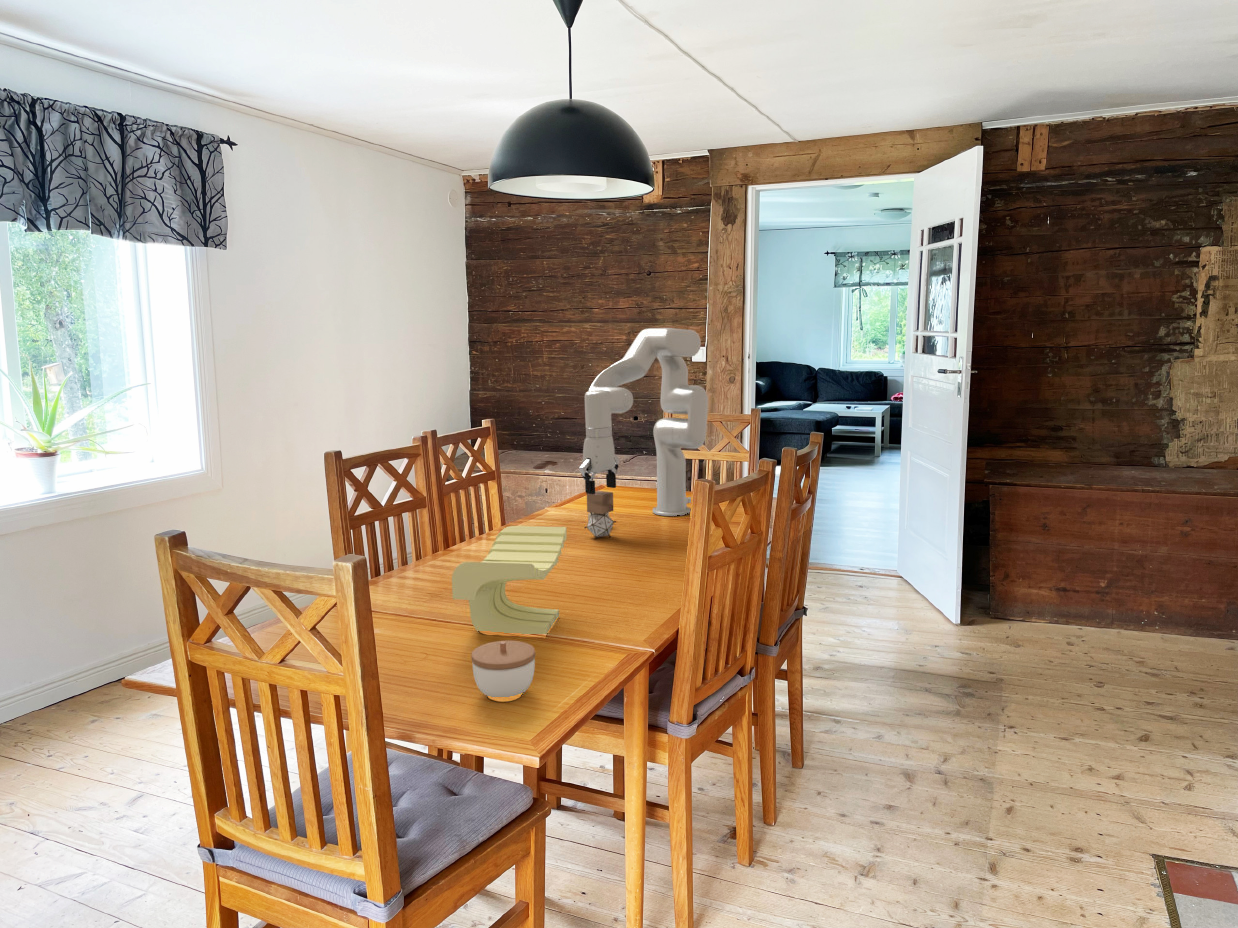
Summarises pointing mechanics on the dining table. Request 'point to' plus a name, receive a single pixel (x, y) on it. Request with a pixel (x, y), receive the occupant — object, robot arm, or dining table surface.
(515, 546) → the slatted curved stool
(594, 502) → the walnut block
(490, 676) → the lidded jar
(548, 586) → the dining table surface
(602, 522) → the game die
